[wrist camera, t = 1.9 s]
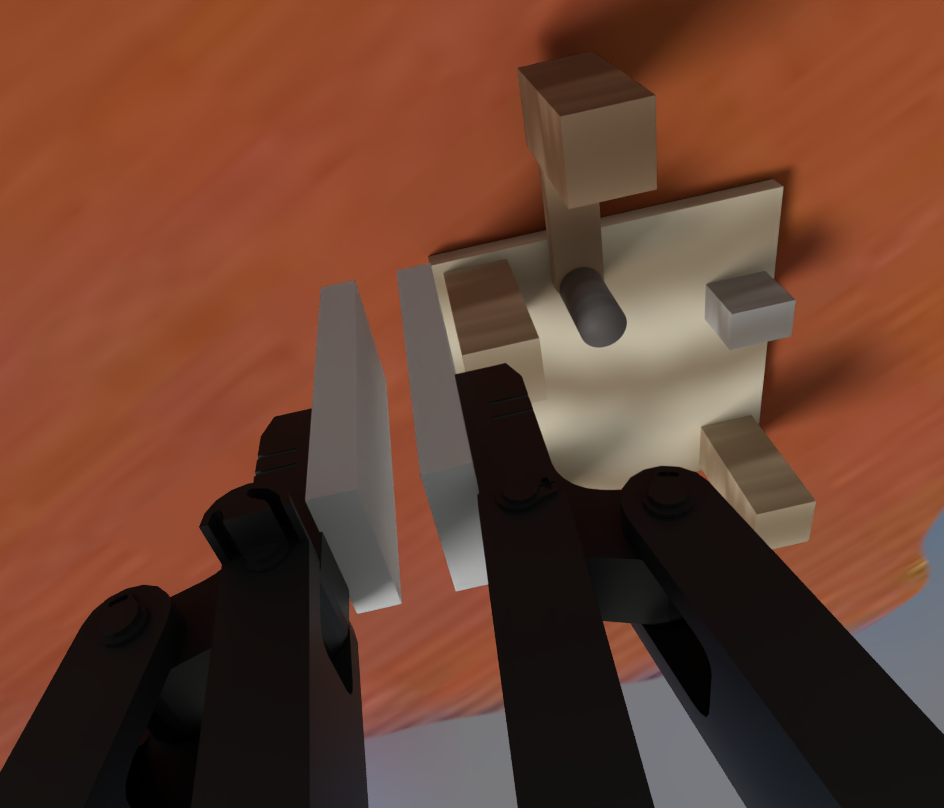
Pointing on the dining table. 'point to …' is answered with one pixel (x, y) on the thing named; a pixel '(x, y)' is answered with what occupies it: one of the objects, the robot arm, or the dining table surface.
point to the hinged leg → (587, 172)
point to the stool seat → (647, 348)
